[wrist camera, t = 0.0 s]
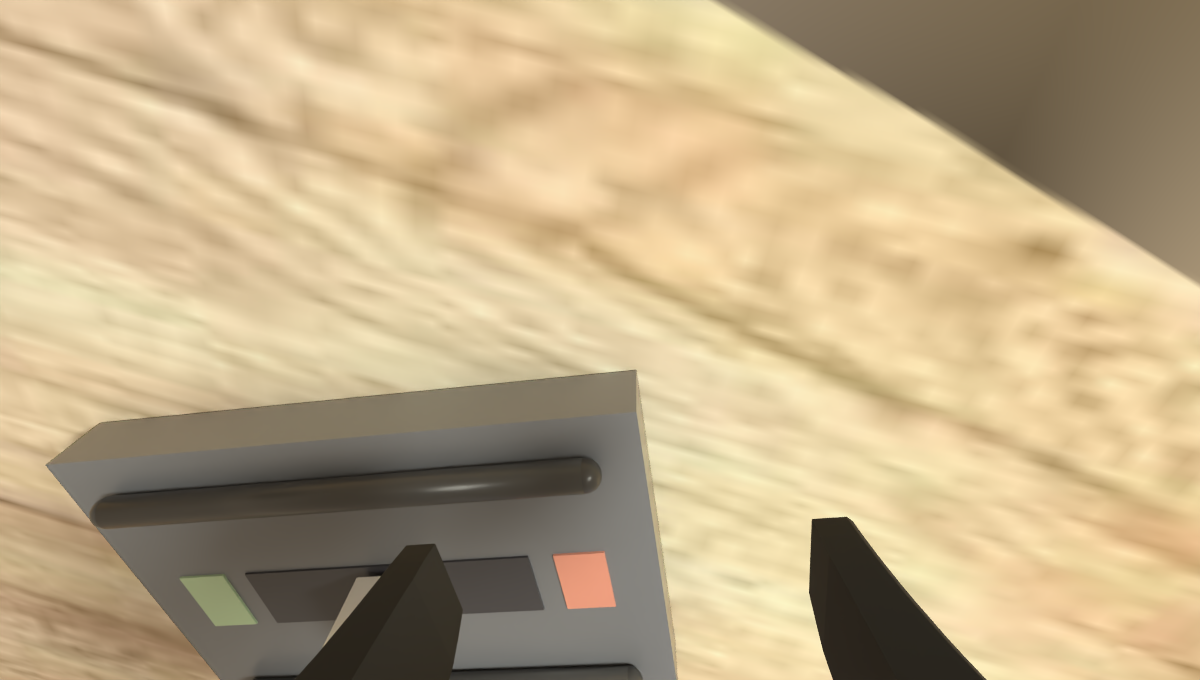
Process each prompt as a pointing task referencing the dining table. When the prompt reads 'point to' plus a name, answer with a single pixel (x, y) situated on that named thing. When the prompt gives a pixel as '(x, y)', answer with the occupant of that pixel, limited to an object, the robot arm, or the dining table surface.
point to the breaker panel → (397, 523)
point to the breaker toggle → (353, 600)
